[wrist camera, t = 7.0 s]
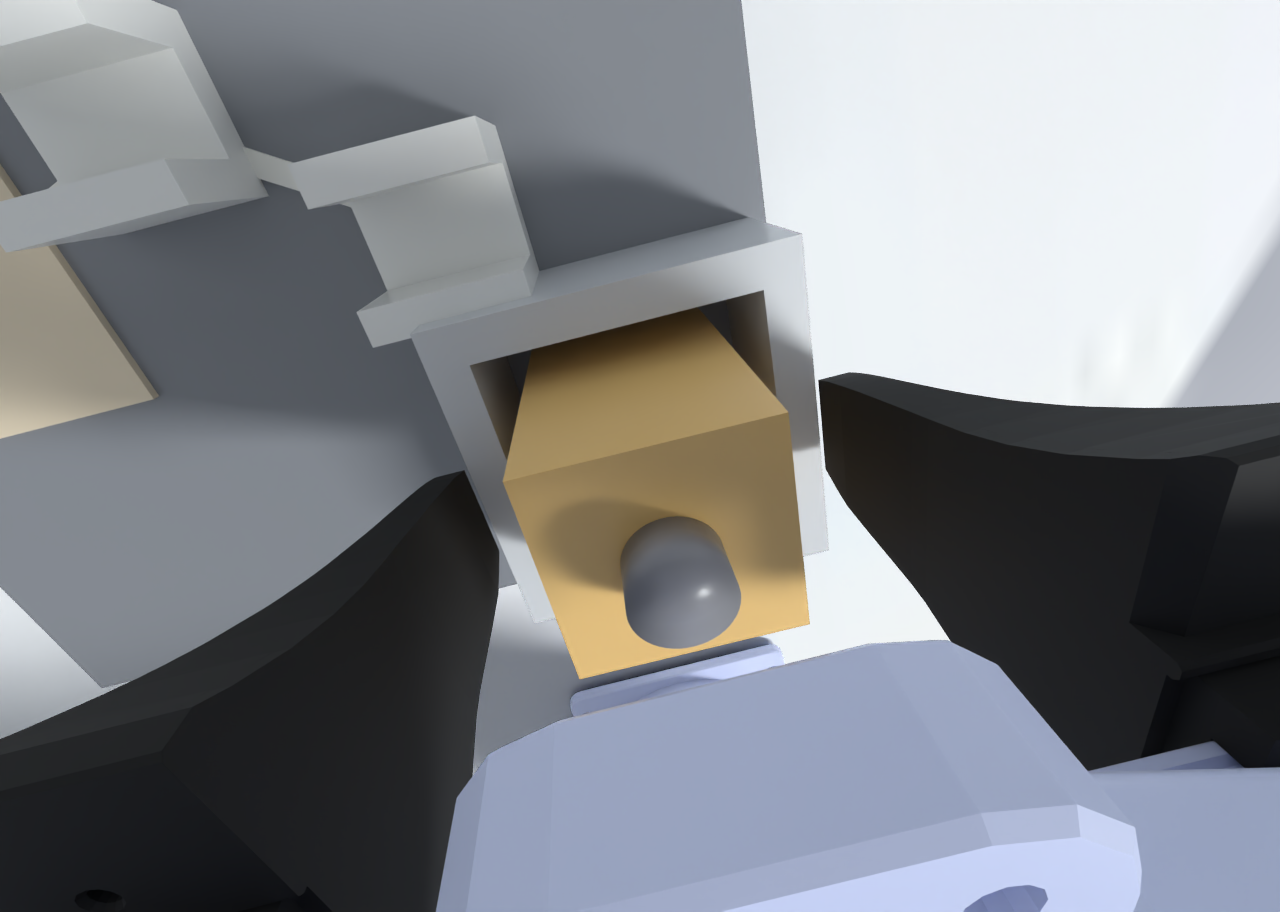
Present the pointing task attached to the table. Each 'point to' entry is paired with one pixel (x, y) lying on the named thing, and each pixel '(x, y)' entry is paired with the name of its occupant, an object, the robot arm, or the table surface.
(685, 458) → the connector plug
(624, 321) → the cable board
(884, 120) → the table surface
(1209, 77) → the table surface
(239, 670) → the robot arm
